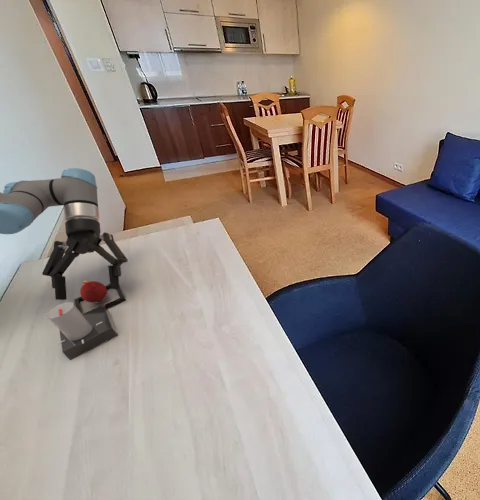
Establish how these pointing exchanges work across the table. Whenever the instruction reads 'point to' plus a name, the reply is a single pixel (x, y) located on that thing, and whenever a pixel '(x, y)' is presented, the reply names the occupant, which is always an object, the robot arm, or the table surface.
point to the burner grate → (108, 305)
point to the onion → (93, 291)
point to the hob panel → (91, 333)
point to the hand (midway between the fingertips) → (88, 294)
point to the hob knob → (70, 321)
